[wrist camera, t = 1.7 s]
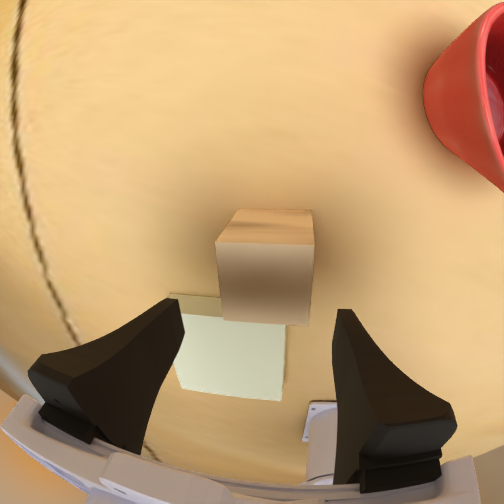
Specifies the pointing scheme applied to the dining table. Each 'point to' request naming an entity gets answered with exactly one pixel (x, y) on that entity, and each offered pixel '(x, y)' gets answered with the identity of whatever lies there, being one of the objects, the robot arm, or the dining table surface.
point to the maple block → (266, 266)
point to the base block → (228, 352)
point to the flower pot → (471, 96)
